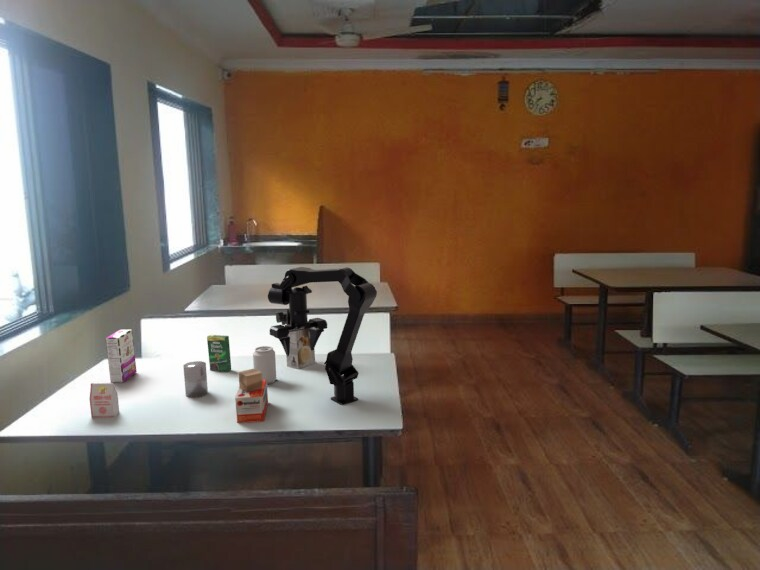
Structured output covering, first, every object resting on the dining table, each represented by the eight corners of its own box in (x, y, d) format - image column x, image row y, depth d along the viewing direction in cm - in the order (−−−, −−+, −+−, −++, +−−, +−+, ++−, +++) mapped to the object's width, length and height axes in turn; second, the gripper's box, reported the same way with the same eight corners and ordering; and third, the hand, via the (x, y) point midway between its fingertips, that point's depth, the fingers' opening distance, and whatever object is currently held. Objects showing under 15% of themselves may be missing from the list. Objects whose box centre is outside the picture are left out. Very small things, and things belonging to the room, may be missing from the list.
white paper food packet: (97, 412, 183) (93, 381, 181) (119, 412, 183) (116, 381, 181) (91, 417, 179) (88, 385, 177) (114, 417, 179) (110, 385, 177)
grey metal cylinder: (211, 394, 197) (209, 364, 195) (190, 399, 192) (188, 369, 190) (202, 388, 202) (200, 359, 200) (182, 393, 198) (180, 364, 196)
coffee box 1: (208, 370, 221) (206, 335, 218) (213, 367, 223) (210, 333, 221) (227, 372, 218) (225, 337, 216) (231, 370, 221) (229, 335, 218)
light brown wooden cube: (262, 388, 179) (261, 372, 178) (247, 392, 176) (246, 376, 175) (254, 384, 183) (253, 368, 182) (239, 387, 180) (238, 371, 179)
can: (278, 378, 211) (277, 345, 209) (273, 385, 204) (271, 351, 202) (258, 377, 212) (256, 344, 210) (251, 384, 205) (249, 351, 202)
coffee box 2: (303, 360, 231) (301, 319, 228) (315, 363, 227) (314, 322, 224) (286, 366, 224) (284, 324, 221) (298, 369, 220) (296, 327, 217)
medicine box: (242, 404, 188) (240, 380, 187) (268, 402, 189) (267, 378, 187) (236, 424, 173) (234, 397, 172) (264, 422, 174) (263, 396, 173)
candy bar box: (123, 372, 220) (119, 329, 217) (137, 372, 220) (133, 329, 217) (109, 383, 209) (104, 337, 206) (123, 383, 209) (119, 337, 206)
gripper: (309, 298, 205) (311, 342, 208) (260, 306, 194) (262, 353, 197) (327, 303, 197) (329, 349, 200) (277, 312, 185) (279, 360, 188)
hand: (300, 352), depth 196 cm, fingers open, 9 cm apart
